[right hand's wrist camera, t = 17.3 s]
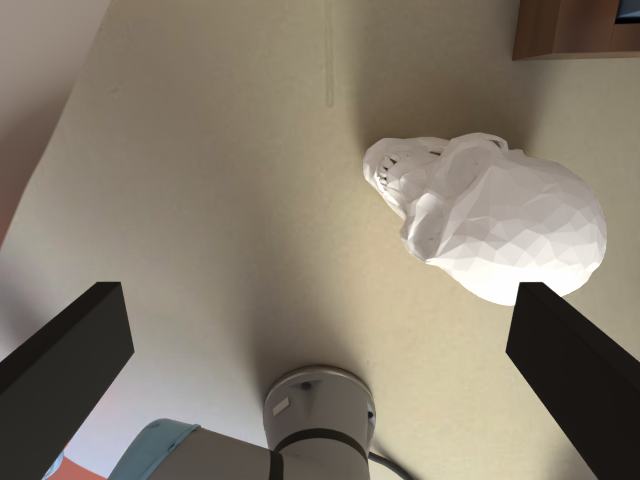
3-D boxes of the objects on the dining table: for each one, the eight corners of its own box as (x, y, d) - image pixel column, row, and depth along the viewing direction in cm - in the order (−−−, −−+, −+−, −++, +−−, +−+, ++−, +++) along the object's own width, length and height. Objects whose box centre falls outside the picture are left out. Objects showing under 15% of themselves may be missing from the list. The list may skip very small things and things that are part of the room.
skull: (384, 94, 39) (419, 105, 24) (572, 170, 41) (705, 220, 27) (336, 212, 44) (341, 279, 29) (507, 273, 46) (589, 363, 32)
